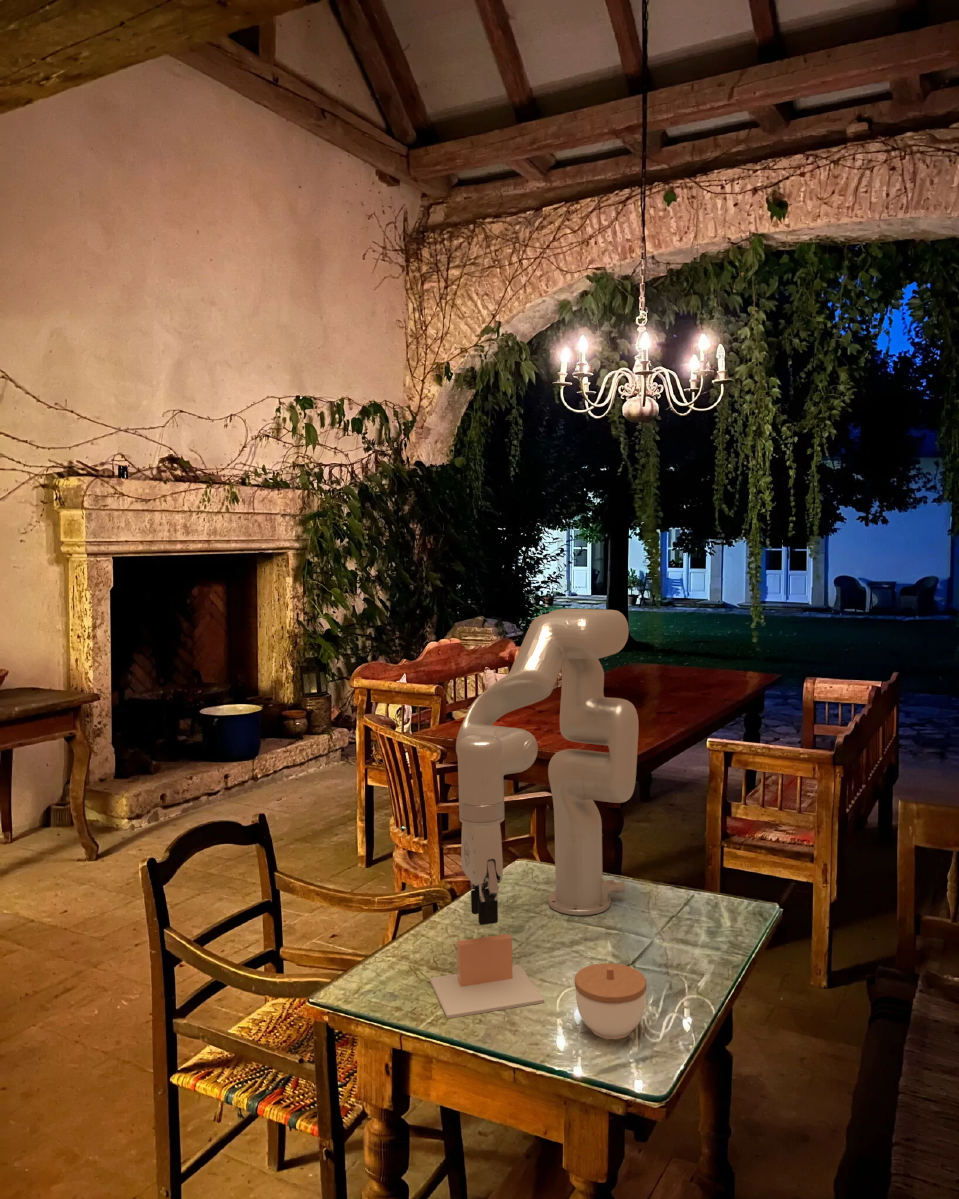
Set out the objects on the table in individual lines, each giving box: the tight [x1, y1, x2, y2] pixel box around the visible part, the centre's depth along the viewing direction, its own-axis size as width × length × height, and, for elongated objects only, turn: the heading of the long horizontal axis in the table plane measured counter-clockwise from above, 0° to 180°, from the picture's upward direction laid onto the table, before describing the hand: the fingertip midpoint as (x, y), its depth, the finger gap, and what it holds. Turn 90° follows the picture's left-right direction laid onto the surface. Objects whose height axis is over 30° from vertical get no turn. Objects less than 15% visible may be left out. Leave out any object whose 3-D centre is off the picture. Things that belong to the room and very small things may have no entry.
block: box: [456, 933, 513, 987], centre depth 154 cm, size 9×2×7 cm, turn 105°
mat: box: [429, 964, 545, 1019], centre depth 151 cm, size 16×13×1 cm
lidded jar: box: [574, 962, 647, 1040], centre depth 139 cm, size 11×11×9 cm
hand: (484, 916), depth 154 cm, fingers open, 3 cm apart
